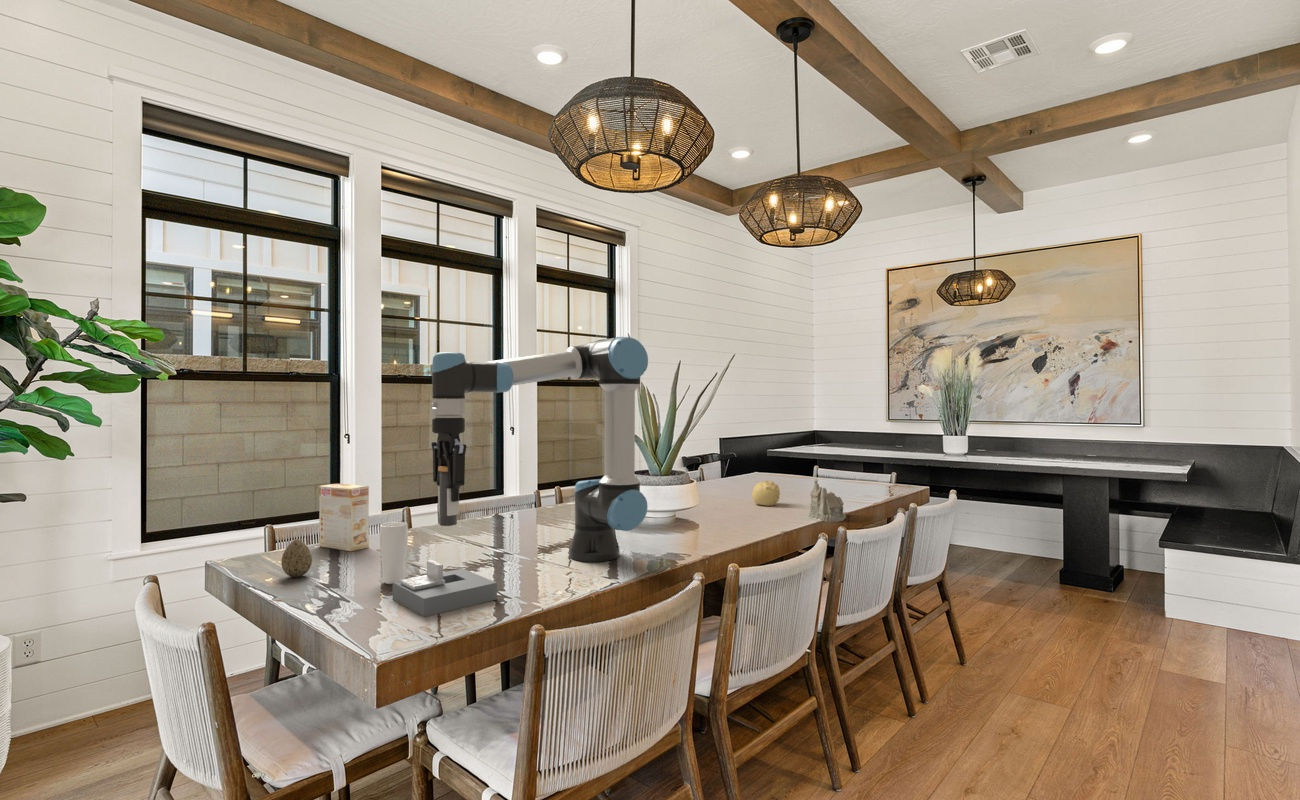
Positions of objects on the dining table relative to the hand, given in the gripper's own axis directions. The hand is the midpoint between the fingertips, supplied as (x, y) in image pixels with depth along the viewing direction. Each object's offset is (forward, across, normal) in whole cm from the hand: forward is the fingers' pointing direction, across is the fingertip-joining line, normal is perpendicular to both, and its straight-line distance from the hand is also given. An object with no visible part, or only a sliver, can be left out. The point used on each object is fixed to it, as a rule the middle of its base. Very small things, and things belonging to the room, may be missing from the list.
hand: (448, 513), depth 159 cm
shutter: (+16, 0, -6) cm, 17 cm away
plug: (+3, 0, 0) cm, 3 cm away
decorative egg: (+20, -42, -22) cm, 52 cm away
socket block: (+20, +2, -2) cm, 20 cm away
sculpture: (+20, -26, +162) cm, 165 cm away
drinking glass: (+20, -20, -5) cm, 29 cm away
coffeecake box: (+20, -70, -1) cm, 72 cm away
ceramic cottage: (+20, +9, +156) cm, 158 cm away
